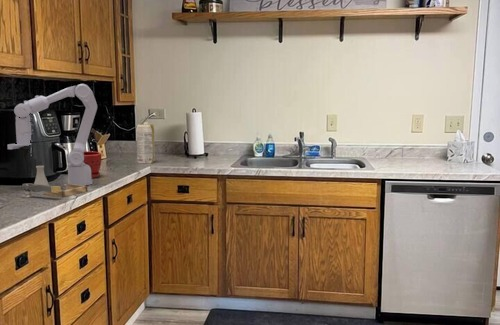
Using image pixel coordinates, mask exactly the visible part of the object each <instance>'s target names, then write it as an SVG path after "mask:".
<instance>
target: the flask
mask: <svg viewBox="0 0 500 325" xmlns="http://www.w3.org/2000/svg"><path fill="white" fill-rule="evenodd" d="M35 168H36V176H35V180H34V182H33V184H38V185H49V186H50V184H49V181H48V180H47V177H46V175H45V170H44V168H45V165H36V166H35ZM32 191H33V192H34V190H31V192H32Z"/></svg>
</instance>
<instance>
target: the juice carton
mask: <svg viewBox="0 0 500 325" xmlns="http://www.w3.org/2000/svg"><path fill="white" fill-rule="evenodd" d="M155 150H156V148H155V127H154V124H149V122H143V124H142V123H140V124H137V126H136V157H137V158H136V159H137V163H138V164H141V165H142V164H143V165H144V164H145V165H146V164H147V165H148V164H149V165H150V164H153V163H154V162H155V157H156V156H155V155H156V154H155Z"/></svg>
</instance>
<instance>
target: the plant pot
mask: <svg viewBox="0 0 500 325" xmlns="http://www.w3.org/2000/svg"><path fill="white" fill-rule="evenodd" d="M83 162H84V163H85V164H87V165H89V166H90V168H91V179H94V178H98V177H99V176H100V175H101V173H100V169H101V166H102V153H101V152H100V151H85V150H84V161H83Z"/></svg>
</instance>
